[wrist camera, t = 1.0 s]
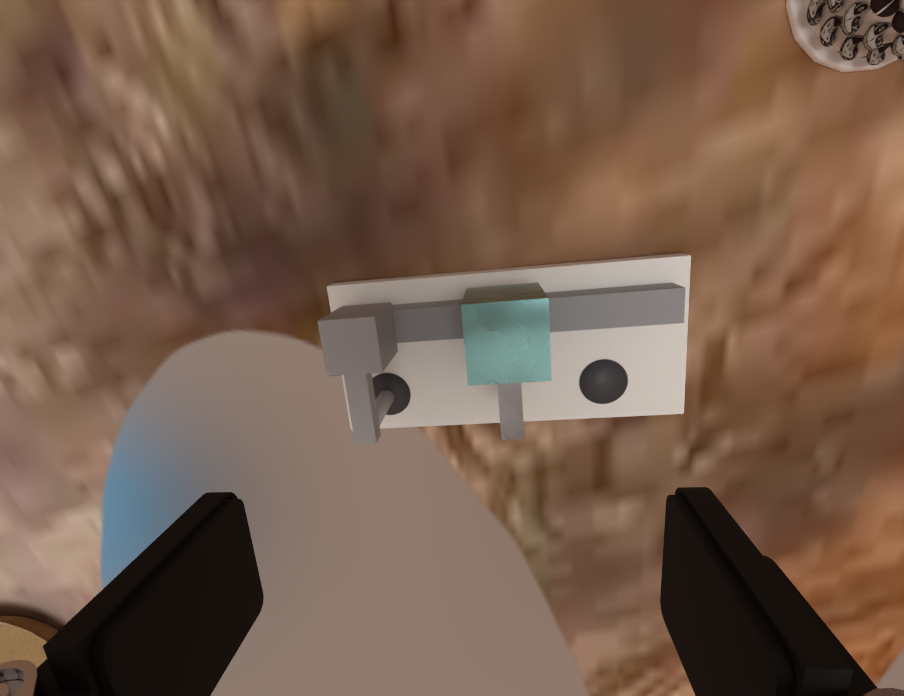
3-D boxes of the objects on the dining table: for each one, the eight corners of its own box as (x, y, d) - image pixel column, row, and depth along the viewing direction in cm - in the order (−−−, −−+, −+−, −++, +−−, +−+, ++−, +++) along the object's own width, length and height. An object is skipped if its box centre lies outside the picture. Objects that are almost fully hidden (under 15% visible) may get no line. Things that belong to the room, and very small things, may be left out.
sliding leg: (468, 283, 28) (460, 304, 21) (535, 278, 27) (548, 297, 21) (478, 398, 30) (473, 450, 23) (540, 395, 29) (554, 446, 23)
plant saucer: (-11, 569, 41) (-44, 592, 38) (135, 654, 42) (112, 682, 40) (-57, 664, 45) (-89, 691, 42) (77, 740, 46) (54, 770, 44)
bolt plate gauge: (334, 282, 31) (285, 303, 23) (680, 253, 28) (745, 266, 21) (356, 420, 33) (319, 477, 26) (674, 404, 31) (729, 462, 24)
